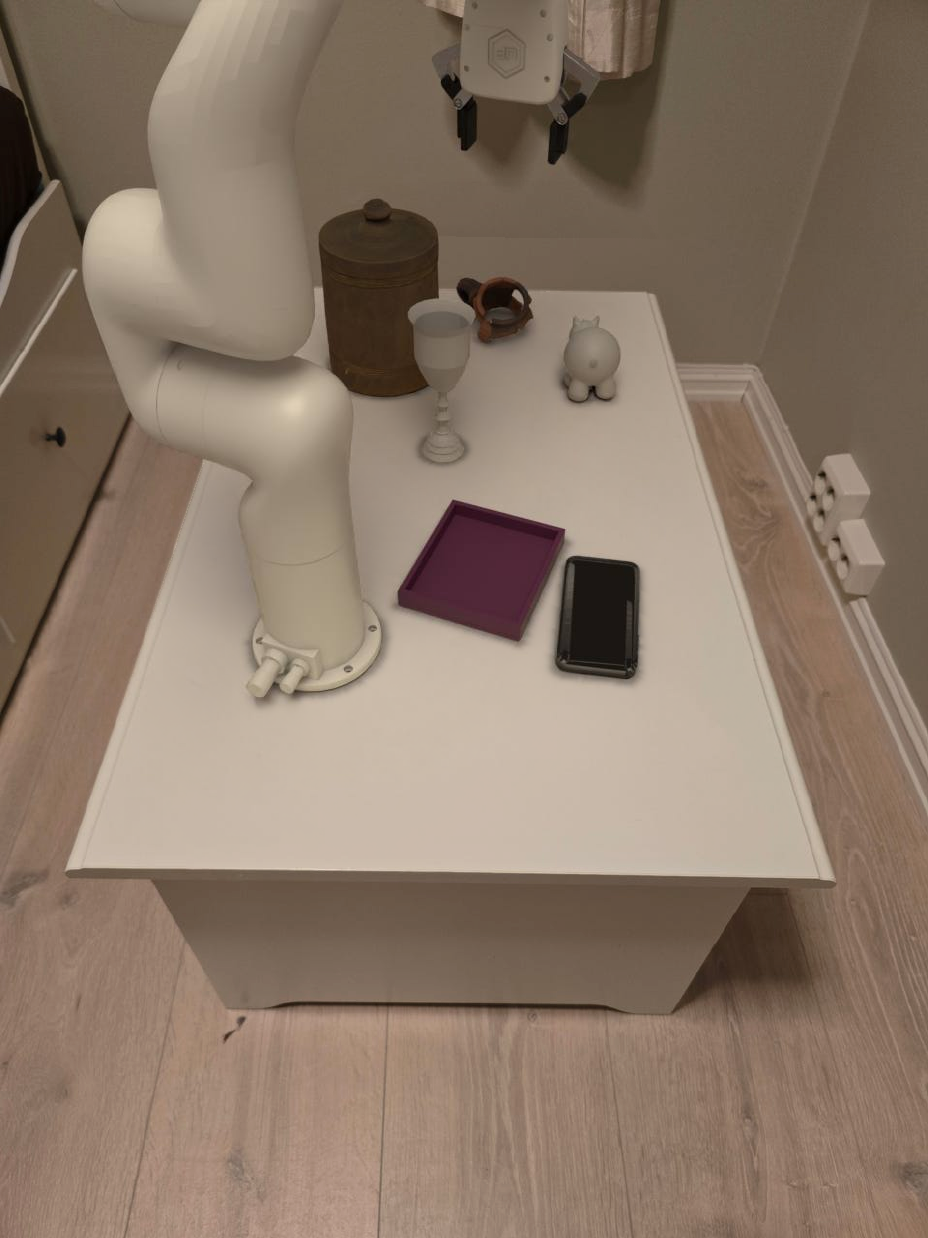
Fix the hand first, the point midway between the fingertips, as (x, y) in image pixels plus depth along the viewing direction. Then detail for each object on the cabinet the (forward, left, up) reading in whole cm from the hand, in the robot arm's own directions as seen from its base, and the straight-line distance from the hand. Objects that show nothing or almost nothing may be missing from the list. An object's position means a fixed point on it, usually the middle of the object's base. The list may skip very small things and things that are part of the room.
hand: (511, 152), depth 95 cm
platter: (-32, -10, -30) cm, 45 cm away
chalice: (-14, +2, -30) cm, 33 cm away
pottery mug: (+15, +6, -30) cm, 34 cm away
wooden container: (0, +16, -30) cm, 34 cm away
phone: (-34, -23, -30) cm, 51 cm away
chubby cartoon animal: (+7, -10, -30) cm, 32 cm away
